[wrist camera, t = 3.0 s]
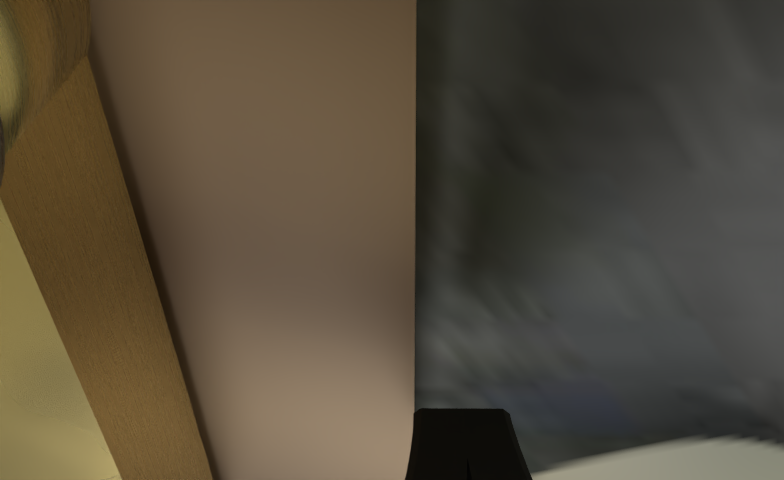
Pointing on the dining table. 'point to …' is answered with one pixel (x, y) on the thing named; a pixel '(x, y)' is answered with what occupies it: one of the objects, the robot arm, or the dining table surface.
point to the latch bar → (77, 277)
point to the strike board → (276, 219)
